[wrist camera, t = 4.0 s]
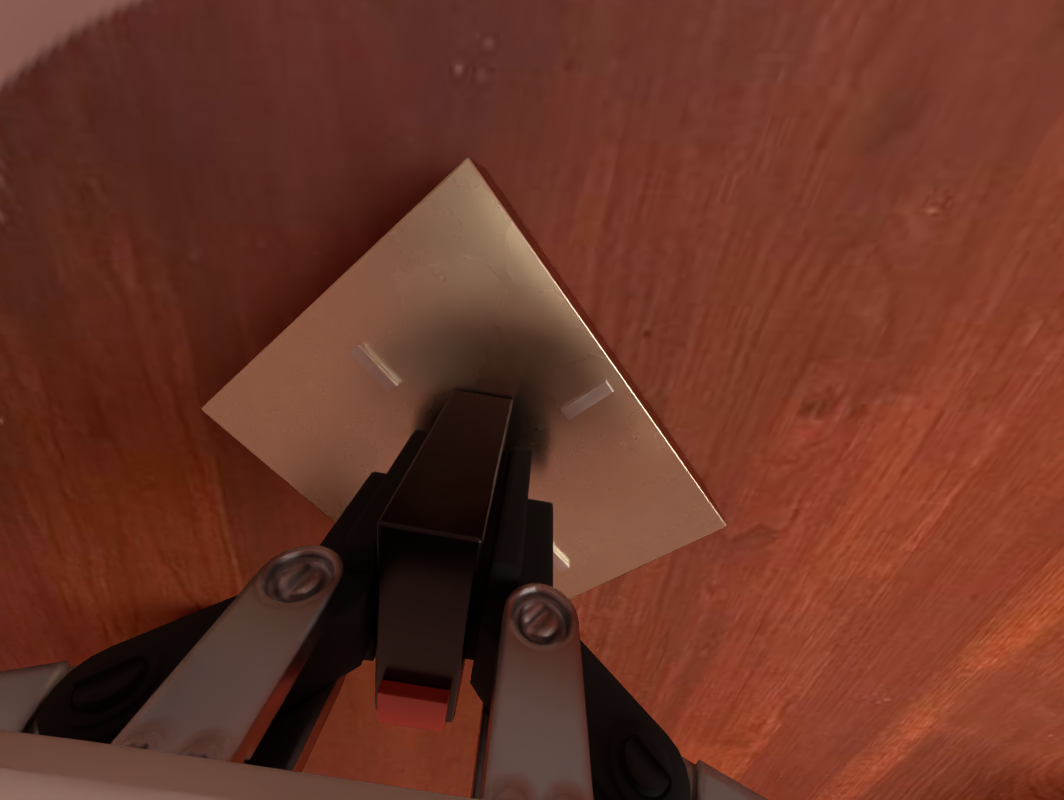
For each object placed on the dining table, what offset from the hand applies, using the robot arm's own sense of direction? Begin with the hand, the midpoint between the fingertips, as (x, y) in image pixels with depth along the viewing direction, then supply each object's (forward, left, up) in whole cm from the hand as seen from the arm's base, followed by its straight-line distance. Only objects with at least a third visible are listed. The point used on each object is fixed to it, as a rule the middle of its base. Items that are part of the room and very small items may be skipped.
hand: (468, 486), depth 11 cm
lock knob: (0, 0, -1) cm, 1 cm away
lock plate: (0, 0, -3) cm, 3 cm away
